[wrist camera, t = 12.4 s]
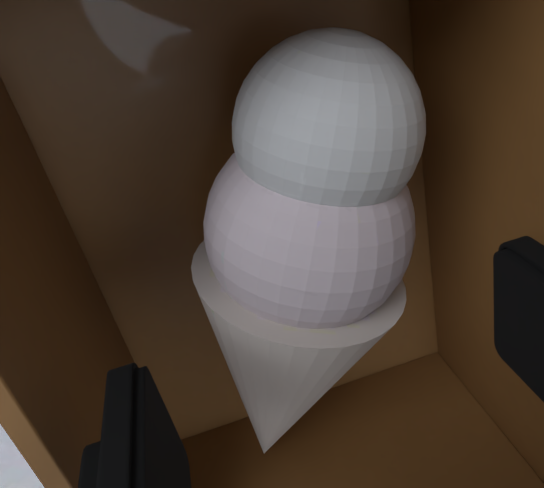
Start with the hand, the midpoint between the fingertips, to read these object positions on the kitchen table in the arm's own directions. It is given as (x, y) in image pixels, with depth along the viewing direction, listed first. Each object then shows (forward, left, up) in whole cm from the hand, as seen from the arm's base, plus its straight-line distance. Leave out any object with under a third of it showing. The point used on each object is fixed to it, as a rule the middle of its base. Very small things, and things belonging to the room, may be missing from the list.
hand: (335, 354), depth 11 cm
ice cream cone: (0, 0, -7) cm, 7 cm away
